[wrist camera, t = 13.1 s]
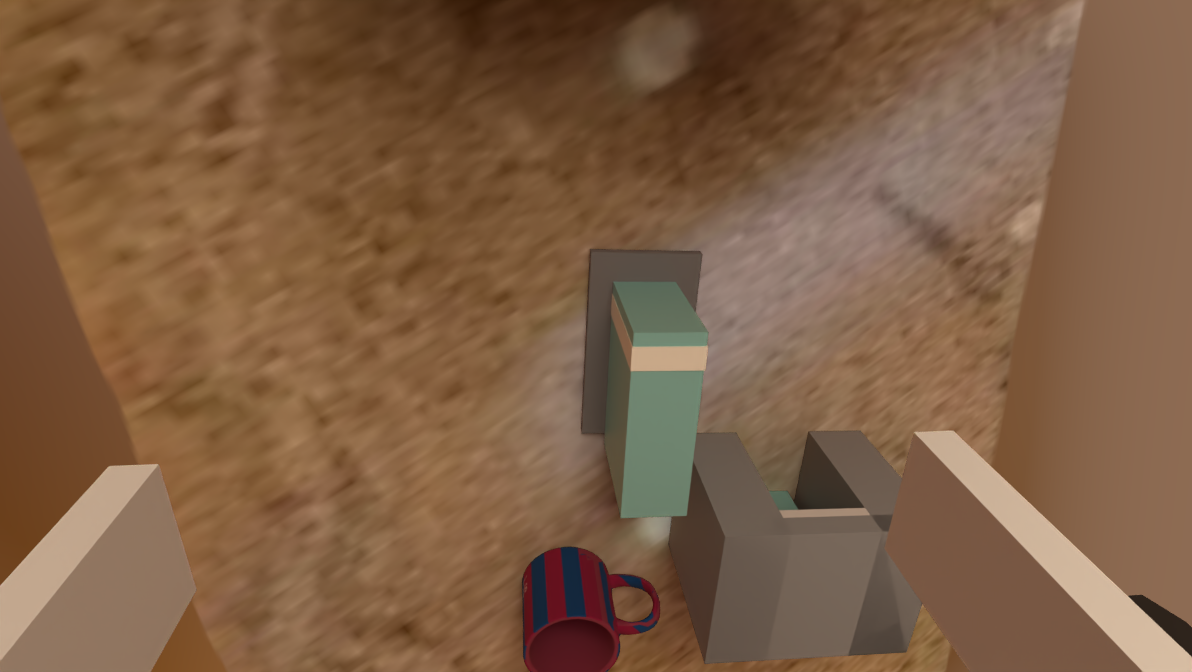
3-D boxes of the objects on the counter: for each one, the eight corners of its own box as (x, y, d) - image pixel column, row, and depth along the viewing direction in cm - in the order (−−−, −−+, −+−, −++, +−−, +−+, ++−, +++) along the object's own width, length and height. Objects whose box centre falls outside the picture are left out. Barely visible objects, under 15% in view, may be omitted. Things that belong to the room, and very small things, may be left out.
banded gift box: (612, 281, 43) (633, 333, 36) (676, 281, 43) (709, 333, 36) (603, 444, 48) (620, 519, 40) (661, 442, 48) (687, 516, 41)
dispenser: (681, 433, 49) (725, 537, 39) (860, 430, 50) (946, 529, 40) (668, 544, 53) (704, 663, 43) (834, 538, 54) (906, 652, 44)
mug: (516, 552, 52) (517, 623, 45) (646, 533, 52) (664, 601, 46) (528, 617, 54) (529, 693, 48) (651, 599, 55) (669, 670, 49)
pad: (590, 249, 42) (591, 251, 42) (699, 251, 43) (702, 254, 43) (581, 428, 48) (582, 433, 47) (679, 427, 49) (681, 431, 48)
